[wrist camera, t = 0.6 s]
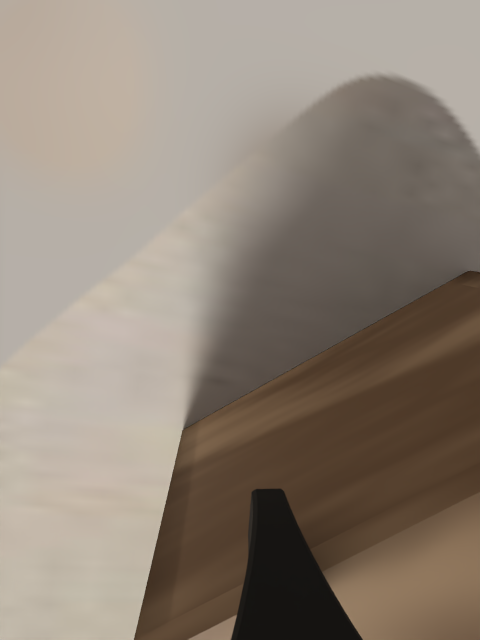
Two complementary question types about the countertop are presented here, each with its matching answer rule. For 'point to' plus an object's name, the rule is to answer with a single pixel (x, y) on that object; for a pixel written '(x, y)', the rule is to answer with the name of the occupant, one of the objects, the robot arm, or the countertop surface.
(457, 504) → the shelf
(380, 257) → the countertop surface
